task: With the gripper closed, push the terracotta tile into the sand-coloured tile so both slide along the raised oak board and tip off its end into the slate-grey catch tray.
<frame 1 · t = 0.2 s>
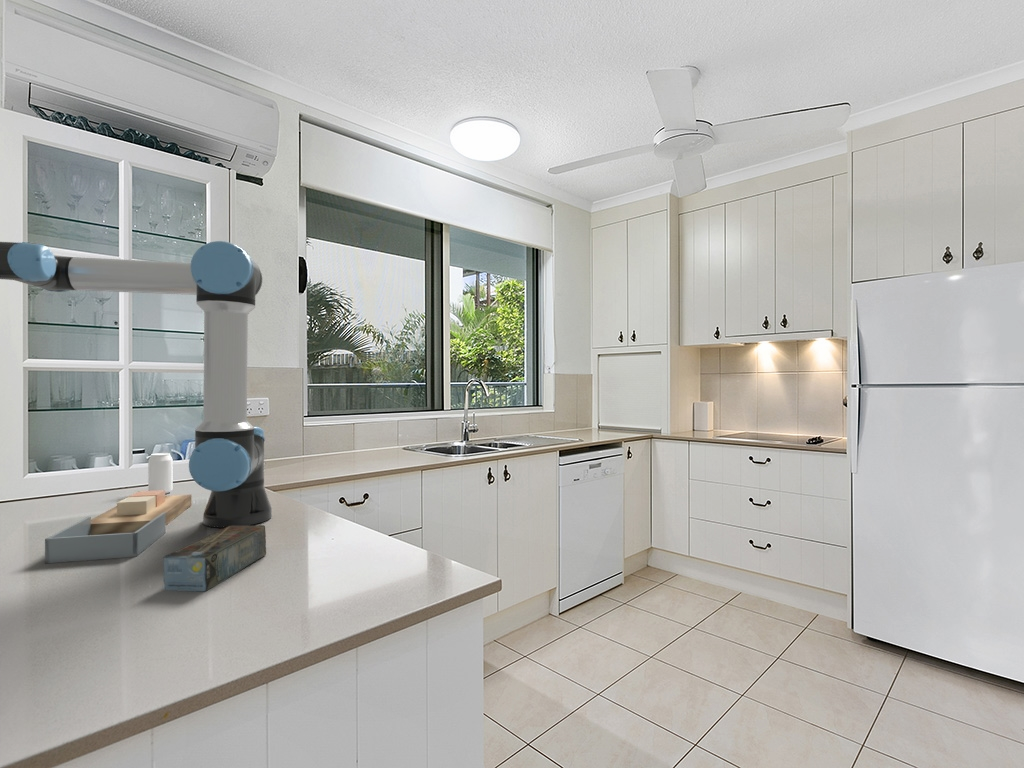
beverage can: (160, 493, 165), on the worktop
sand tile: (136, 511, 130), point 3 cm above the worktop, touching oak board
terracotta tile: (147, 505, 137), point 3 cm above the worktop, touching oak board
beverage carton: (219, 573, 99), on the worktop
oak board: (143, 519, 134), on the worktop
catch tray: (110, 546, 113), on the worktop
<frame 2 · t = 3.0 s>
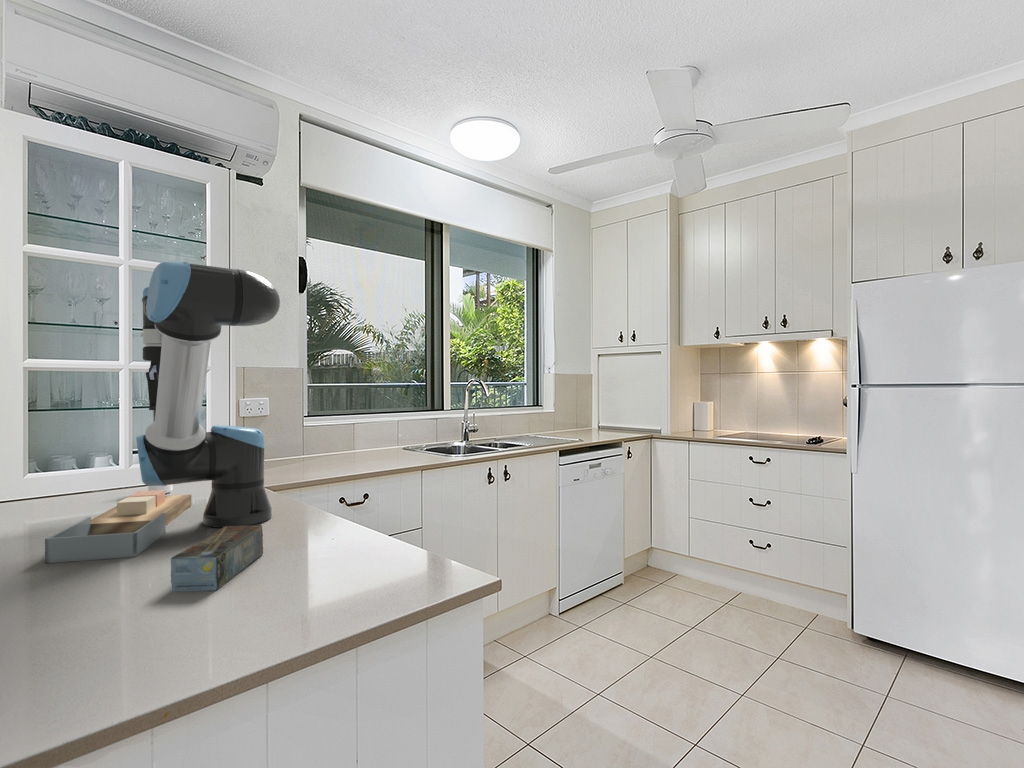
hand: (159, 434, 146), 20 cm above the worktop, fingers closed
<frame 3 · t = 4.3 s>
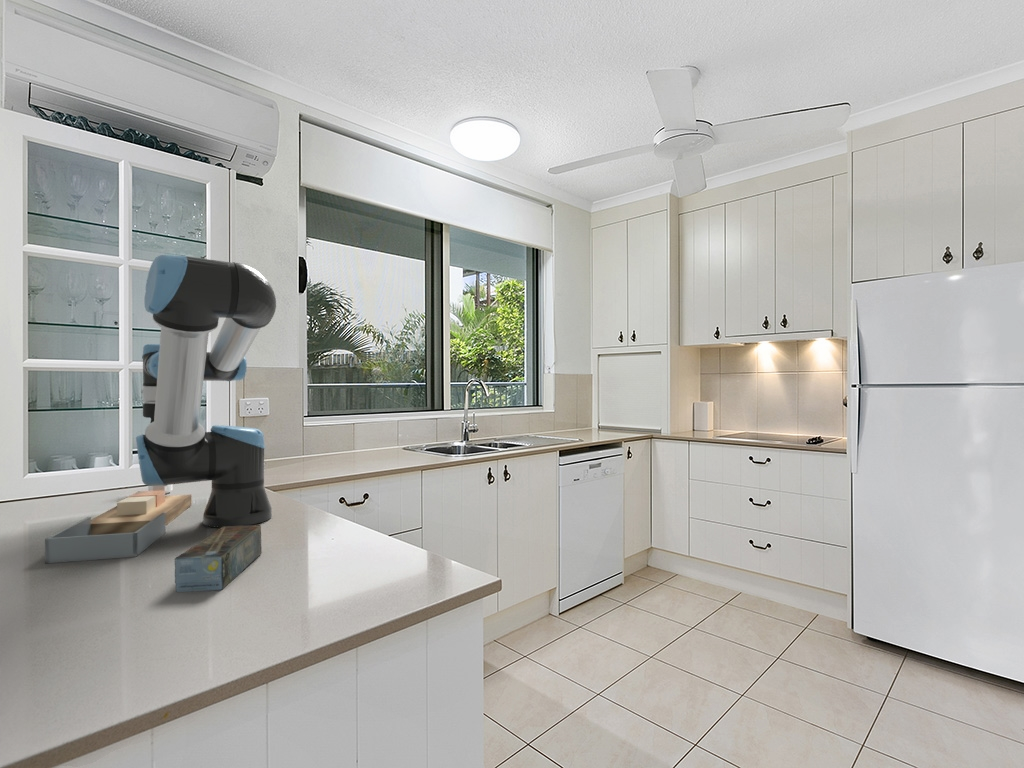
hand: (159, 490, 146), 5 cm above the worktop, fingers closed
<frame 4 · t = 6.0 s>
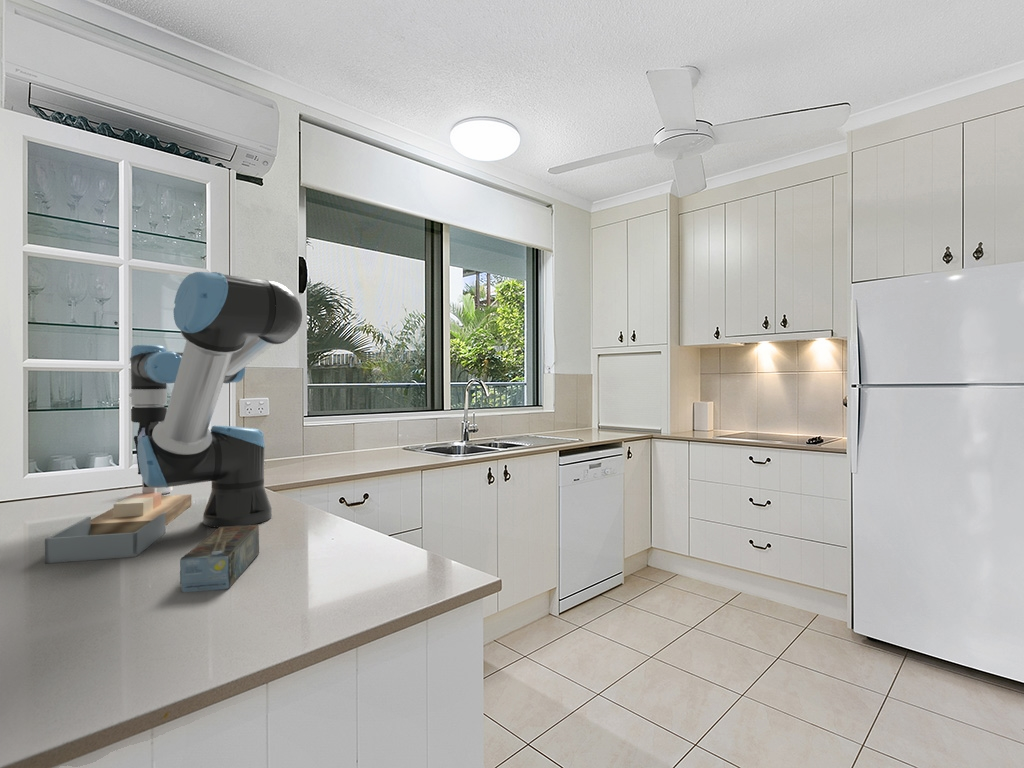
hand: (149, 499, 138), 4 cm above the worktop, fingers closed
sand tile: (133, 513, 129), point 3 cm above the worktop
terracotta tile: (143, 507, 134), point 3 cm above the worktop, touching gripper
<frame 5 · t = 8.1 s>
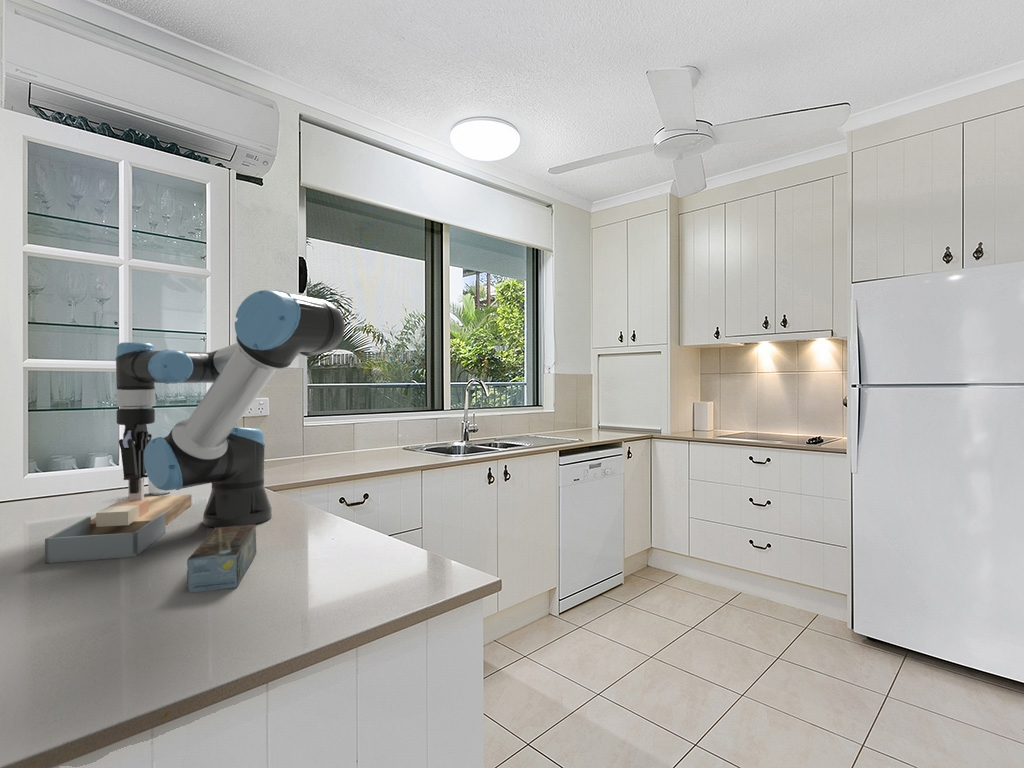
hand: (136, 506, 130), 4 cm above the worktop, fingers closed
sand tile: (118, 522, 121), point 3 cm above the worktop, touching oak board, terracotta tile
terracotta tile: (128, 515, 126), point 3 cm above the worktop, touching sand tile
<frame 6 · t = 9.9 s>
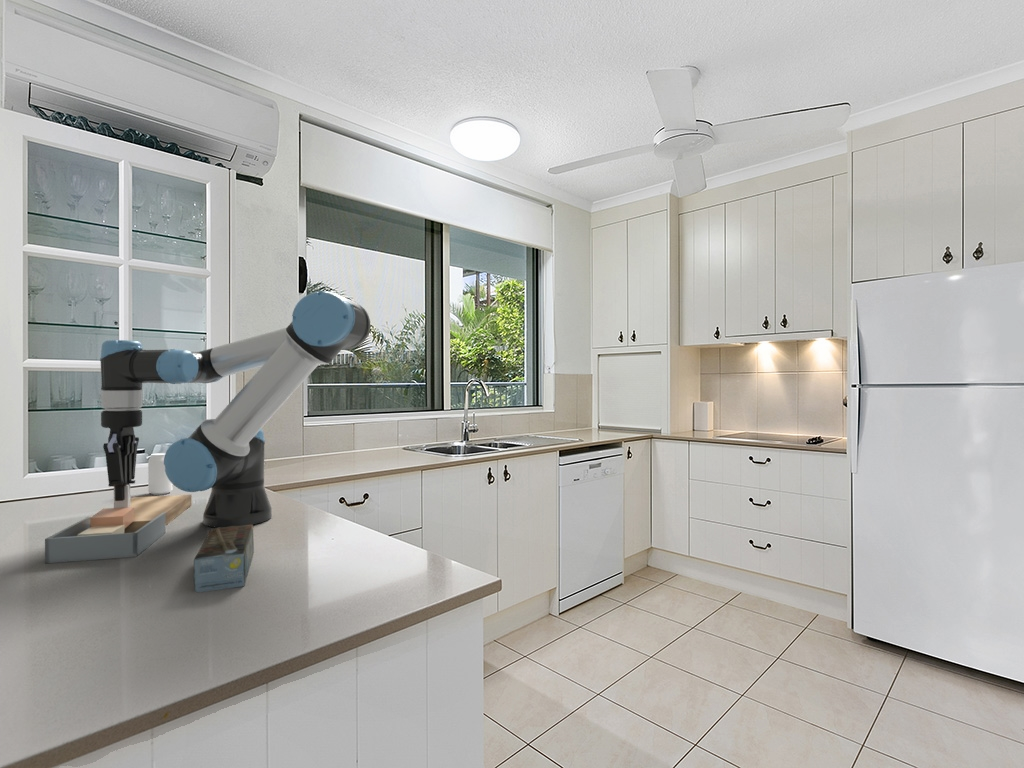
hand: (122, 514, 122), 4 cm above the worktop, fingers closed
sand tile: (101, 543, 113), point 1 cm above the worktop, touching catch tray, terracotta tile
terracotta tile: (113, 525, 119), point 3 cm above the worktop, tilted 5°, touching gripper, oak board, sand tile
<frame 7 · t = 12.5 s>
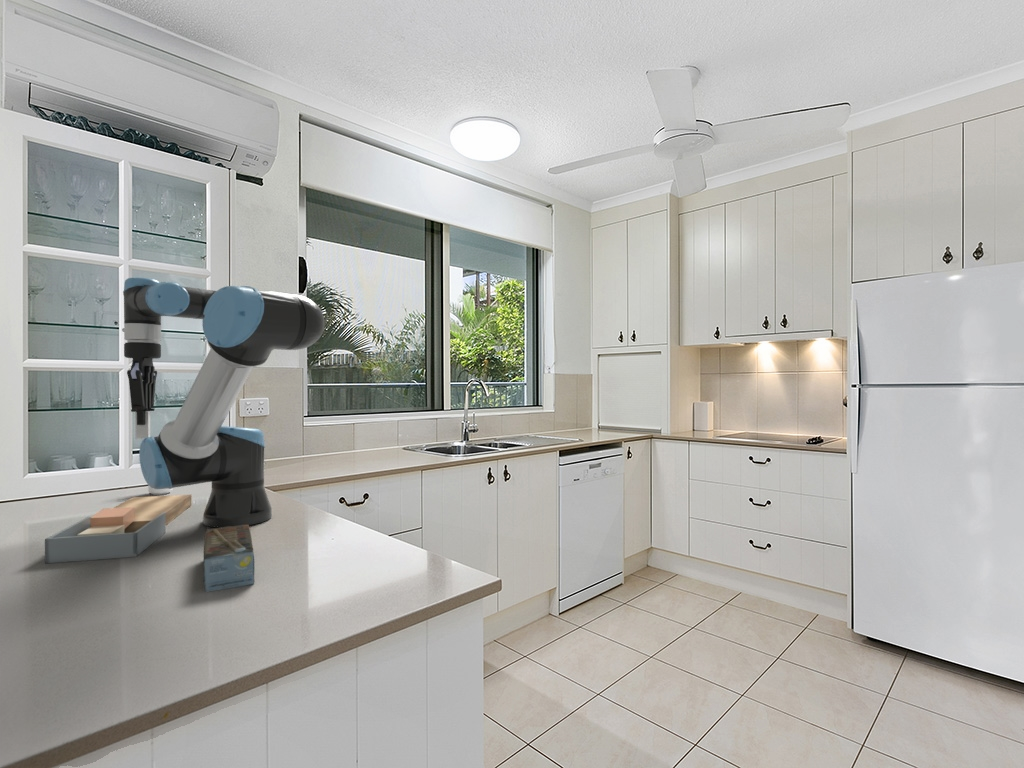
hand: (143, 437, 134), 20 cm above the worktop, fingers closed
terracotta tile: (113, 525, 119), point 3 cm above the worktop, tilted 6°, touching oak board, sand tile
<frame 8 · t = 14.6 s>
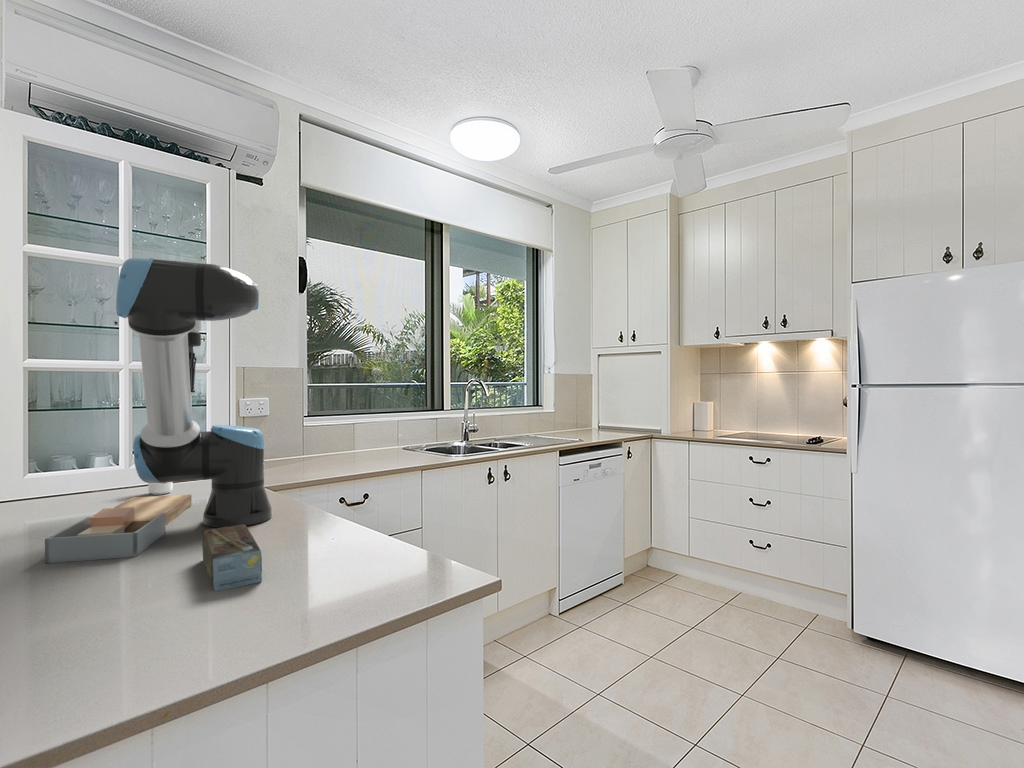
hand: (185, 415, 153), 24 cm above the worktop, fingers closed
at the end: terracotta tile inside the target area (8.2 cm from its centre), point 2.8 cm above the worktop; sand tile inside the target area (2.6 cm from its centre), point 0.6 cm above the worktop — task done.
